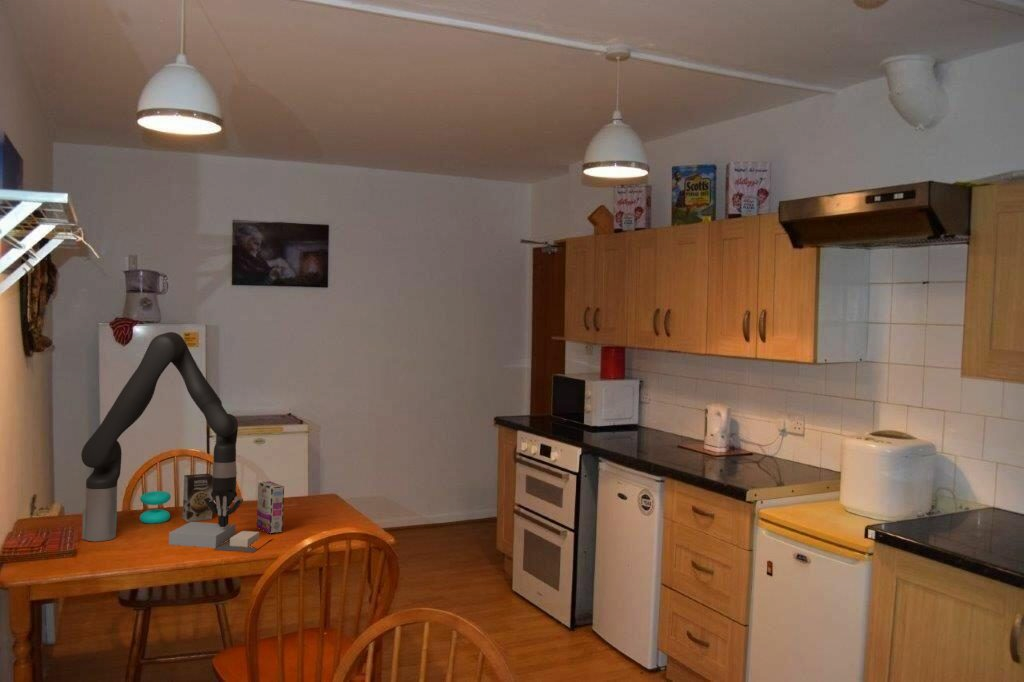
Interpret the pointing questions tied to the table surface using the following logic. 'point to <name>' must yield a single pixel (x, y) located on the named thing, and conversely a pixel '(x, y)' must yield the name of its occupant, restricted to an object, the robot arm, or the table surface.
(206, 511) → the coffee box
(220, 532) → the block
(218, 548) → the mat
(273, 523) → the candy bar box
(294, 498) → the table surface
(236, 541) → the white rectangular block
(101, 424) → the robot arm
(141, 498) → the donuts
